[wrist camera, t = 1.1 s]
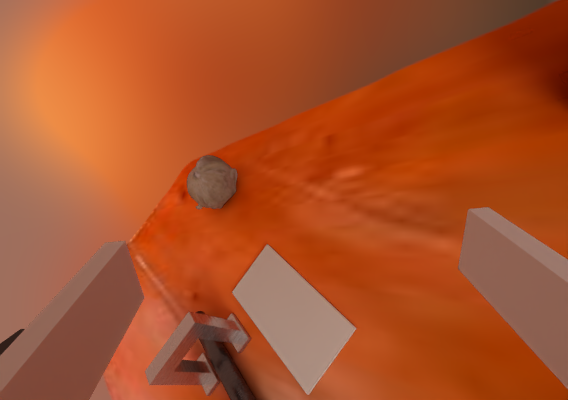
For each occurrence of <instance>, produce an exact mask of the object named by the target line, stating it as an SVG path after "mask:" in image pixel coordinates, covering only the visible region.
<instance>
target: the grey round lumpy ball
mask: <svg viewBox="0 0 568 400" xmlns="http://www.w3.org/2000/svg"><path fill="white" fill-rule="evenodd" d="M236 181H237V171H236V169H232V168H231V167H230V166H229V165H228V164H227V163H225V162H224V161H223V160H221V159H220V158H218V157H215V156H211V155H206V156H203V157H201V158H200V160H199V161H198V162H197V164H196V167H195V168H194V169H192V171H191V172H190V174H189V175H188V178H187V188H188V193H189V194H190V196H191V197H192V198H193V199H194V200H195V201H196V202H197V203H198V204H199V205H198V206H196V208H197V209H202V207H206V208H212V209H216V208H222V207H223V205H224V203H225V202H226V201H227V200H228V199H229V198H231V197H232V196H233V194H234V193H235V192H236Z"/></svg>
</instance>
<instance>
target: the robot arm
mask: <svg viewBox="0 0 568 400" xmlns="http://www.w3.org/2000/svg"><path fill="white" fill-rule="evenodd" d="M458 269H459V270H460V271H461V272H462V274H463V275H464V276H465V277H466V278H467V279H468V280H469V281H470V282H471V283H472V285H473V286H474V287H475V288H476V289H477V290H478V291H479V292H480V293H481V294H482V295H483V297H484V298H485V299H486V300H487V301H488V302H489V303H490V304H491V305H492V306H493V308H494V309H495V310H496V311H497V312H498V313H499V314H500V315H501V316H502V317H503V319H504V320H505V321H506V322H507V323H508V324H509V325H510V326H511V327H512V328H513V330H514V331H515V332H516V333H517V334H518V335H519V336H520V337H521V338H522V339H523V340H524V342H525V343H526V344H527V345H528V346H529V347H530V348H531V349H532V350H533V351H534V353H535V354H536V355H537V356H538V357H539V358H540V359H541V360H542V361H543V362H544V364H545V365H546V366H547V367H548V368H549V369H550V370H551V371H552V372H553V373H554V375H555V376H556V377H557V378H558V379H559V380H560V381H561V382H562V383H563V384H564V386H565V387H566V388H567V389H568V260H567V259H566V258H564V257H563V256H561V255H560V254H558V253H557V252H555V251H554V250H552V249H551V248H549V247H548V246H546V245H545V244H543V243H542V242H540V241H539V240H537V239H536V238H534V237H532V236H531V235H529V234H528V233H526V232H525V231H523V230H522V229H520V228H519V227H517V226H516V225H514V224H513V223H511V222H510V221H508V220H507V219H505V218H504V217H502V216H501V215H499V214H498V213H496V212H495V211H493V210H492V209H490V208H489V207H486V208H476V209H468V214H467V220H466V226H465V231H464V237H463V243H462V249H461V254H460V260H459V266H458ZM143 299H144V295H143V292H142V289H141V286H140V283H139V280H138V277H137V274H136V271H135V268H134V265H133V262H132V259H131V256H130V253H129V250H128V247H127V245H126V242H125V241H118V242H108V243H105V244H104V245H103V246H102V247H101V248H100V249H99V250H98V251H97V252H96V253H95V254H94V255H93V256H92V258H91V259H90V260H89V261H88V262H87V263H86V264H85V265H84V266H83V267H82V268H81V269H80V271H79V272H78V273H77V274H76V275H75V276H74V277H73V278H72V279H71V280H70V281H69V283H67V285H66V286H65V287H64V288H63V289H62V290H61V291H60V292H59V293H58V294H57V295H56V296H55V297H54V299H53V300H52V301H51V302H50V303H49V304H48V305H47V306H46V307H45V308H44V309H43V310H42V312H41V313H40V314H39V315H38V316H37V317H36V318H35V319H34V320H33V321H32V322H31V323H30V324H29V325H28V327H27V328H26V329H20V330H19V331H17V332H16V333H15V334H13V335H12V336H10V337H9V338H8V339H6V340H5V341H3V342H2V343H1V344H0V400H89V399H90V397H91V395H92V393H93V392H94V390H95V388H96V386H97V384H98V382H99V381H100V379H101V377H102V375H103V373H104V371H105V369H106V368H107V366H108V364H109V362H110V360H111V358H112V357H113V355H114V353H115V351H116V349H117V347H118V346H119V344H120V342H121V340H122V338H123V336H124V334H125V333H126V331H127V329H128V327H129V325H130V323H131V322H132V320H133V318H134V316H135V314H136V312H137V311H138V309H139V307H140V305H141V303H142V301H143Z"/></svg>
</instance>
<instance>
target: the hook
mask: <svg viewBox="0 0 568 400" xmlns="http://www.w3.org/2000/svg"><path fill="white" fill-rule="evenodd" d="M196 313H199V314H204V315H205V313H204V312H203V311H198V312H196ZM199 340H200V342H201V344H202V346H203V348H204V350H205V352H206V354H207V355H208V357H209V359H210V361H211V363H212V365H213V367H214V369H215V371H216V373H217V374H218V376H219V378H220V380H221V382H222V384H223V386H224V388H225V390H226V392H227V394H228V395H229V397H230V399H231V400H256V399H255V398H254V396H253V394H252V393H251V391H250V389H249V388H248V386H247V384H246V383H245V381H244V379H243V377H242V376H241V374H240V372H239V371H238V369H237V367H236V366H235V364H234V362H233V361H232V359H231V357H230V355H229V354H228V352H227V350H226V349H225V347H224V345H223V344H222V342H221V341H214V340H207V339H199Z"/></svg>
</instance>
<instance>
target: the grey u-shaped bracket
mask: <svg viewBox="0 0 568 400" xmlns="http://www.w3.org/2000/svg"><path fill="white" fill-rule="evenodd" d="M198 338H199V339H207V340H214V341H221V342H228V343H232V344H233V346H234V347H235V349H236V350H237V352H238V353H241V352H242V351H243V350H244V348H245V347H246V346H247V344H248V343H249V341H250V340H251V337H250V336H249V334H248V333H247V331H246V330H245V328H244V327H243V326H242V324H241V323H240V321H239V320H238V318H237V317H236V315H235V314H234V313H231V314H230V316H229V317H228V318H227V319H223V318H218V317H213V316H209V315H204V314H199V313H194V312H190V311H189V312H188V313H187V315H186V316H185V317H184V319H183V320H182V321H181V323H180V324H179V326H178V327H177V328H176V330H175V331H174V332H173V334H172V335H171V336H170V338H169V339H168V341H167V342H166V343H165V345H164V346H163V347H162V349H161V350H160V352H159V353H158V354H157V356H156V357H155V358H154V360H153V361H152V362H151V364H150V365H149V367H148V368H147V369H146V371H145V373H146V376H147V379H148V382H149V385H202V386H203V388H204V391H205V393H206V395H207V396H210V395H211V394H212V392H213V391H214V390H215V388H216V387H217V385H218V384H219V383H220V381H221V380H220V379H219V377H218V375H217V373H216V371H215V369H214V367H213V365H212V363H211V361H210V360H209V358H208V356H207V354H206V353H204V352H203V353H202V354H201V356H200V357H199V358H198V360H197V361H190V360H182V359H183V358H184V357H185V355H186V354H187V353H188V351H189V350H190V348H191V347H192V346H193V344H194V343H195V342H196V340H197V339H198Z"/></svg>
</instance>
